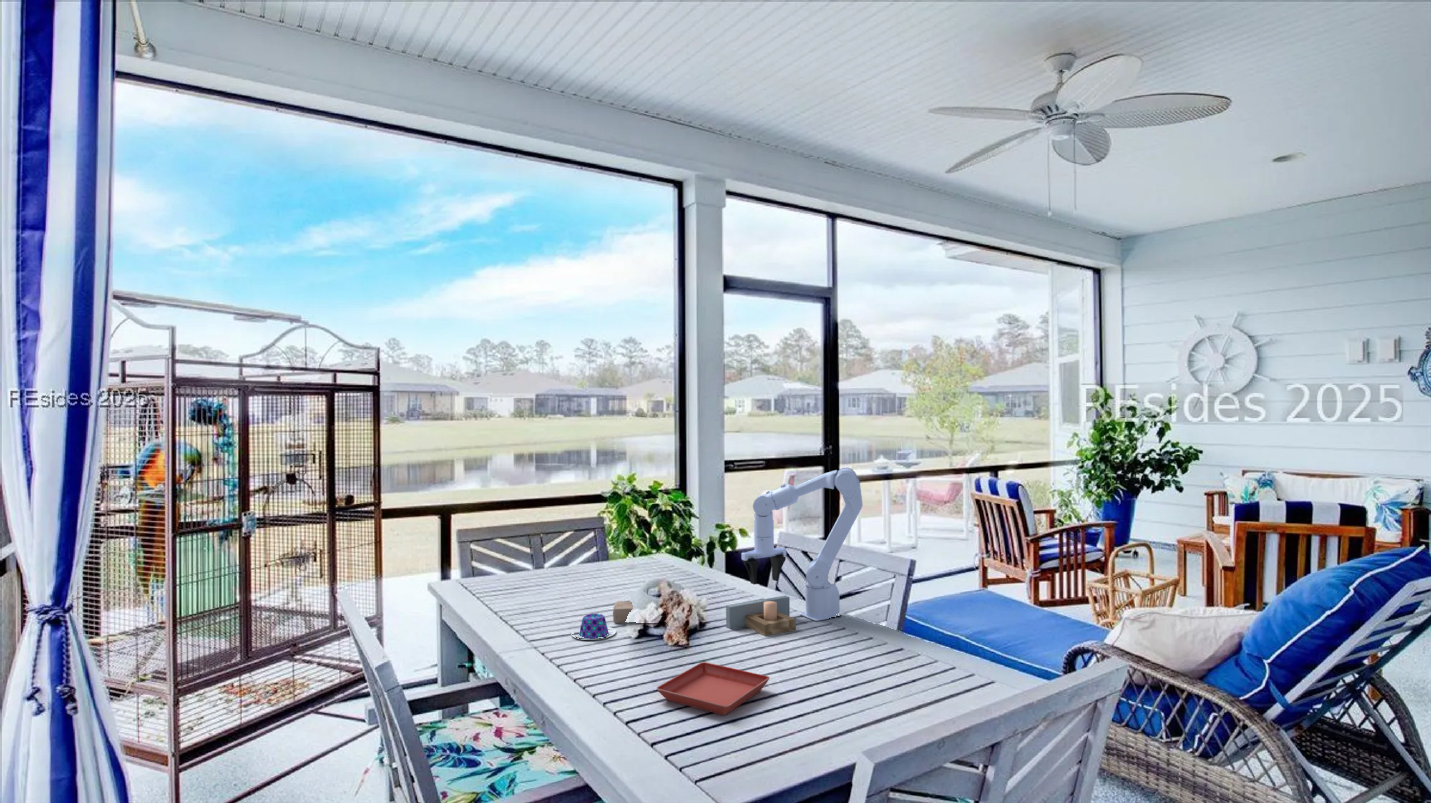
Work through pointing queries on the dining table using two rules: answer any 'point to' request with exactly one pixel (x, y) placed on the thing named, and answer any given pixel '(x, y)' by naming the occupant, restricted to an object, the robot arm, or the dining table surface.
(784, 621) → the socket block
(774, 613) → the dowel
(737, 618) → the wall
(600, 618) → the pudding
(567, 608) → the dining table surface
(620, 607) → the brick
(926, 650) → the dining table surface
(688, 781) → the dining table surface
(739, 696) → the plant saucer
